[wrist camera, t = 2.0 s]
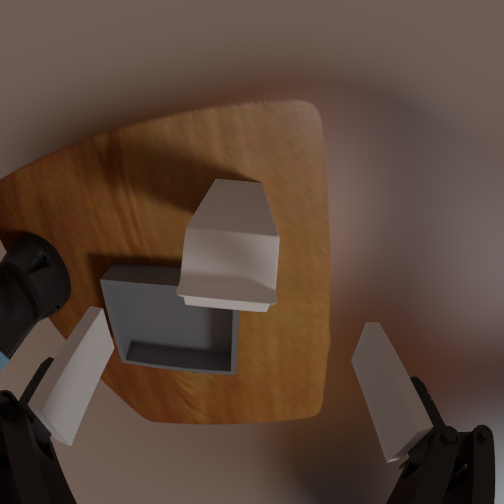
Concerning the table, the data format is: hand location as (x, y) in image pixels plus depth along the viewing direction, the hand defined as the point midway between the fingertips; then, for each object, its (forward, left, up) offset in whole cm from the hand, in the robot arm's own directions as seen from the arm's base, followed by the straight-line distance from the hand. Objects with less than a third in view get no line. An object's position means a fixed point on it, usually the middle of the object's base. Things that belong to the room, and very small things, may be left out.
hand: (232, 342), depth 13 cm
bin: (-9, -18, -25) cm, 32 cm away
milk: (0, 0, -25) cm, 25 cm away
